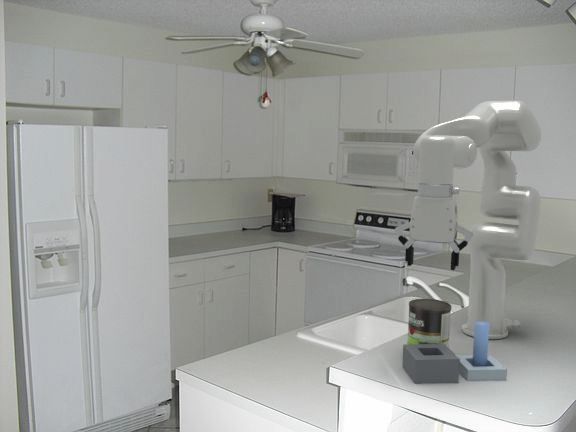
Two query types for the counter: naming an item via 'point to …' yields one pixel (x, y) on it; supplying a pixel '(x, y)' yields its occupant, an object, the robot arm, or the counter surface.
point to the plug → (480, 344)
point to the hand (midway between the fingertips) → (431, 267)
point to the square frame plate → (481, 369)
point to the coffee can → (429, 322)
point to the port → (430, 363)
